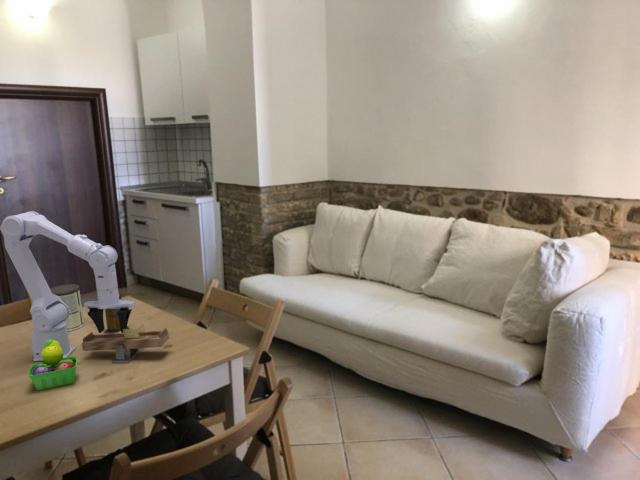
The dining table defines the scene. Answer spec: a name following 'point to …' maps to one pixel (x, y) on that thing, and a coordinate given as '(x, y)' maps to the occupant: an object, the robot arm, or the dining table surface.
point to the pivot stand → (124, 354)
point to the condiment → (112, 320)
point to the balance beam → (111, 339)
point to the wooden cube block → (134, 331)
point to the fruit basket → (53, 367)
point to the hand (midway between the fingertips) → (112, 331)
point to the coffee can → (71, 304)
